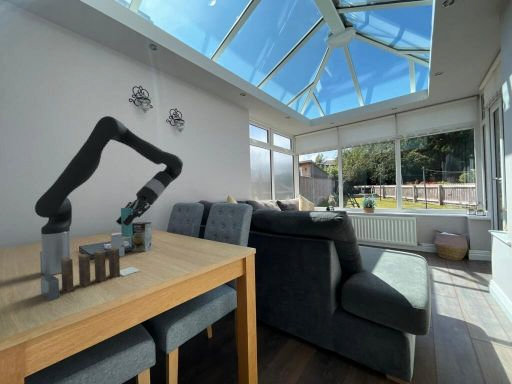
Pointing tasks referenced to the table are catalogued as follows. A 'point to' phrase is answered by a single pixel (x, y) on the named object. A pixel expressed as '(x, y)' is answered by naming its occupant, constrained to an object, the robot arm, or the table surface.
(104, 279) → the domino
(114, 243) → the skincare box
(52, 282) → the end stop
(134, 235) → the coffee box
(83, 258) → the domino
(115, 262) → the domino
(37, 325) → the table surface
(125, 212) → the teal domino
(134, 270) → the slot marker
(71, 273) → the domino
